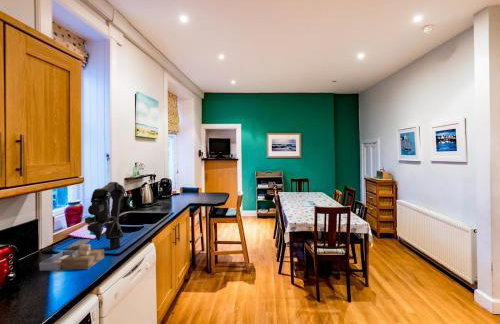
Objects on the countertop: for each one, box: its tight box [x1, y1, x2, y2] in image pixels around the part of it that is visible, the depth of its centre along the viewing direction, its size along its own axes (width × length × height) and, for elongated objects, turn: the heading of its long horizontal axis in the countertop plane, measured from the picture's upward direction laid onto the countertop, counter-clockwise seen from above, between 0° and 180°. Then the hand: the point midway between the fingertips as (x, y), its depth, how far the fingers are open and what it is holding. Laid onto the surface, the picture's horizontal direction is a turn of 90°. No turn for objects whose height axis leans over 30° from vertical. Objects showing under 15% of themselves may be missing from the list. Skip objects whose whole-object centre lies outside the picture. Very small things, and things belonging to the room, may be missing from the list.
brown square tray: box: [61, 248, 105, 270], centre depth 137 cm, size 14×14×5 cm
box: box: [38, 250, 77, 272], centre depth 138 cm, size 16×10×4 cm, turn 179°
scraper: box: [72, 243, 91, 259], centre depth 137 cm, size 12×5×5 cm, turn 179°
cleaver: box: [65, 238, 91, 251], centre depth 160 cm, size 29×10×2 cm, turn 10°
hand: (103, 237), depth 143 cm, fingers open, 9 cm apart
